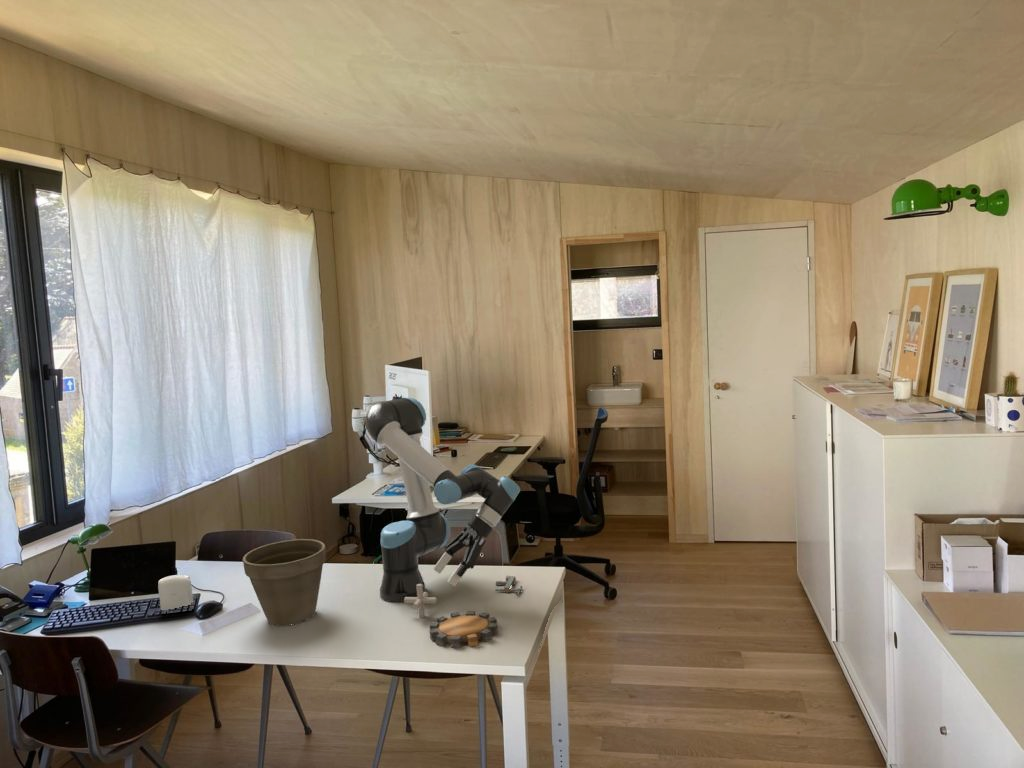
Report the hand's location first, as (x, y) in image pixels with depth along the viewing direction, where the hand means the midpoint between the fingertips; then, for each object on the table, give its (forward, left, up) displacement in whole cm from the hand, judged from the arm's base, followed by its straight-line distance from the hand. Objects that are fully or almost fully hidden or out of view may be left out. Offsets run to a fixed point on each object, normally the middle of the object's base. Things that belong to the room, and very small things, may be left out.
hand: (443, 577), depth 237 cm
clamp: (+4, +26, -12) cm, 29 cm away
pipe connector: (-4, -6, -11) cm, 14 cm away
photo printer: (-78, -47, -11) cm, 92 cm away
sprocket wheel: (+16, -8, -11) cm, 21 cm away
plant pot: (-40, -29, -11) cm, 51 cm away
